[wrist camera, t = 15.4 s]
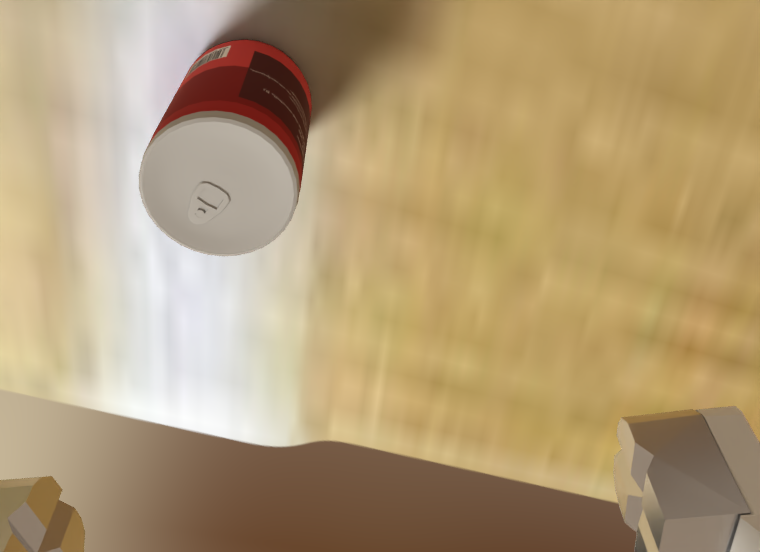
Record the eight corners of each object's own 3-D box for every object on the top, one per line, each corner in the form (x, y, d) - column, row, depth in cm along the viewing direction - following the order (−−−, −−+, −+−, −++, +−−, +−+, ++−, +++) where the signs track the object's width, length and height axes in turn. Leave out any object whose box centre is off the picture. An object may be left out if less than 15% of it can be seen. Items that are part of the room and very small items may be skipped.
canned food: (172, 134, 44) (124, 232, 35) (201, 13, 40) (154, 91, 31) (289, 173, 46) (271, 276, 37) (330, 62, 41) (320, 148, 33)
